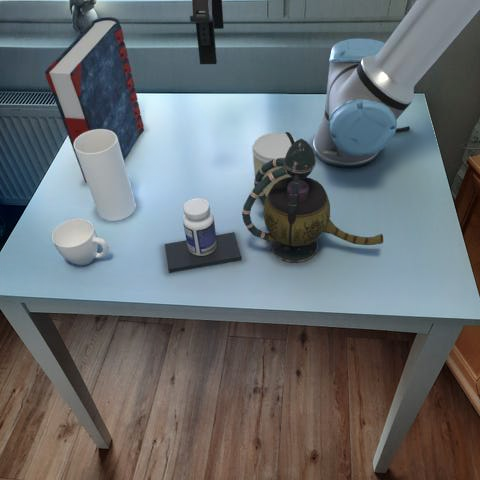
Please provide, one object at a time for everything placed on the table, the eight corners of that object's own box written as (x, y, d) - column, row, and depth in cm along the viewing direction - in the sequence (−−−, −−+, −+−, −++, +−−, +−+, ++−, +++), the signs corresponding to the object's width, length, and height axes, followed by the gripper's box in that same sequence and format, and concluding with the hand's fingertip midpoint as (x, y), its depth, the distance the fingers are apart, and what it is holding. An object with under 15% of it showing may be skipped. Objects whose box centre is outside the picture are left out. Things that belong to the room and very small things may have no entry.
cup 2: (74, 241, 95) (63, 216, 90) (120, 248, 94) (111, 222, 88) (57, 269, 91) (44, 244, 85) (105, 276, 89) (94, 251, 84)
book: (123, 123, 121) (95, 15, 102) (148, 125, 120) (125, 16, 100) (83, 183, 107) (41, 71, 87) (111, 186, 106) (75, 74, 86)
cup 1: (141, 198, 103) (124, 131, 90) (126, 223, 98) (105, 156, 85) (107, 193, 104) (85, 126, 91) (91, 217, 99) (65, 150, 87)
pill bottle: (219, 237, 93) (214, 196, 85) (214, 257, 89) (209, 217, 81) (190, 235, 93) (183, 195, 85) (185, 256, 90) (177, 216, 82)
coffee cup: (303, 202, 100) (308, 152, 90) (262, 213, 98) (262, 163, 88) (285, 177, 105) (288, 127, 95) (246, 187, 103) (245, 138, 94)
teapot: (257, 219, 97) (254, 112, 78) (380, 237, 92) (409, 127, 74) (242, 261, 90) (236, 154, 71) (375, 282, 85) (405, 174, 67)
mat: (234, 235, 94) (234, 231, 94) (241, 260, 90) (241, 256, 89) (165, 247, 93) (164, 243, 92) (169, 272, 89) (168, 269, 88)
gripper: (183, -138, 73) (199, 15, 90) (156, -94, 58) (181, 80, 75) (232, -141, 72) (238, 14, 89) (217, -96, 57) (228, 79, 74)
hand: (212, 45), depth 82 cm, fingers open, 13 cm apart
